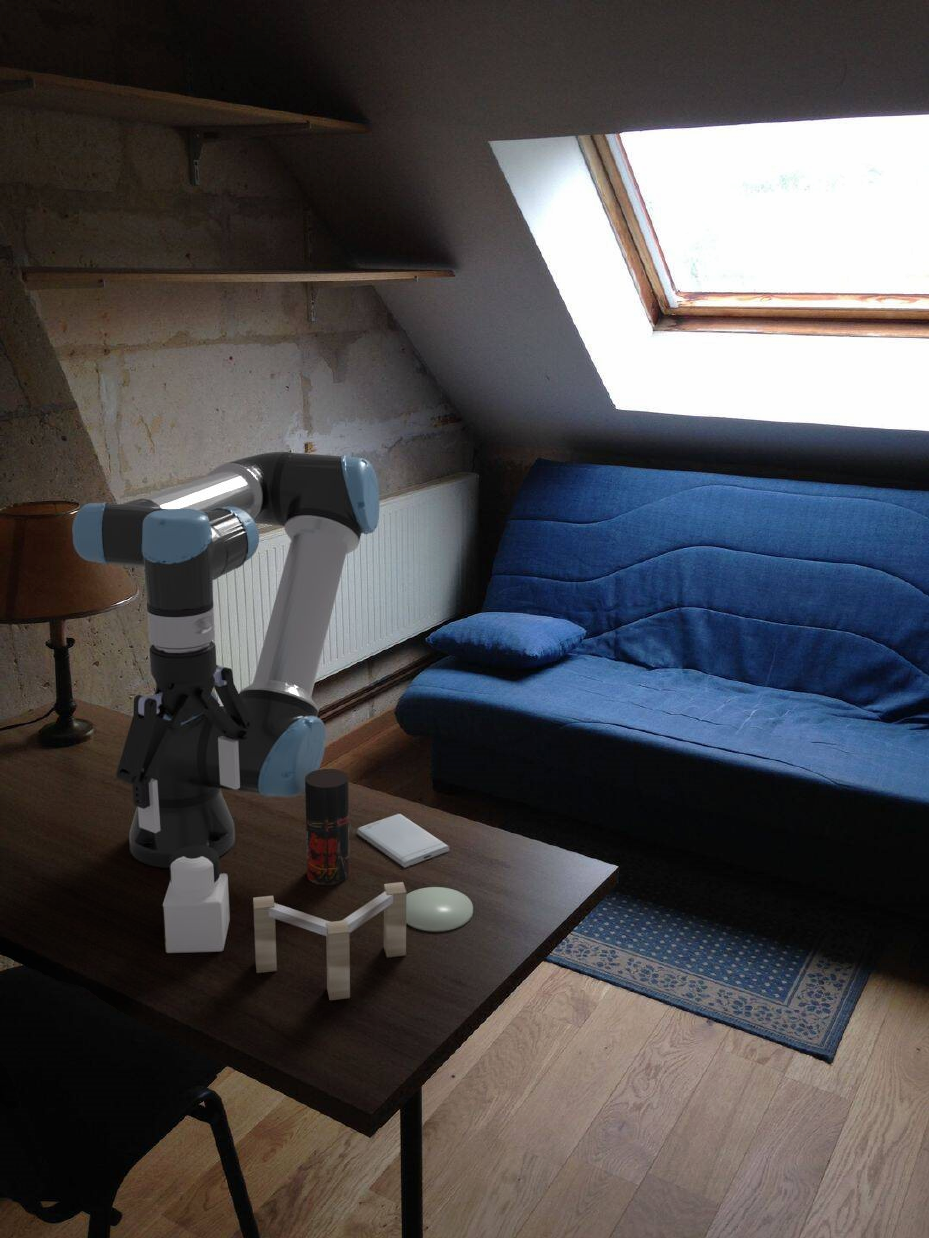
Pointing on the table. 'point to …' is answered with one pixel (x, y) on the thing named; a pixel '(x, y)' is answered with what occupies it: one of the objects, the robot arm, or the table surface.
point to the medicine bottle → (196, 902)
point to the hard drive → (402, 840)
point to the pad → (437, 909)
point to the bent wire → (332, 933)
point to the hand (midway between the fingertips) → (191, 806)
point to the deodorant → (327, 826)
